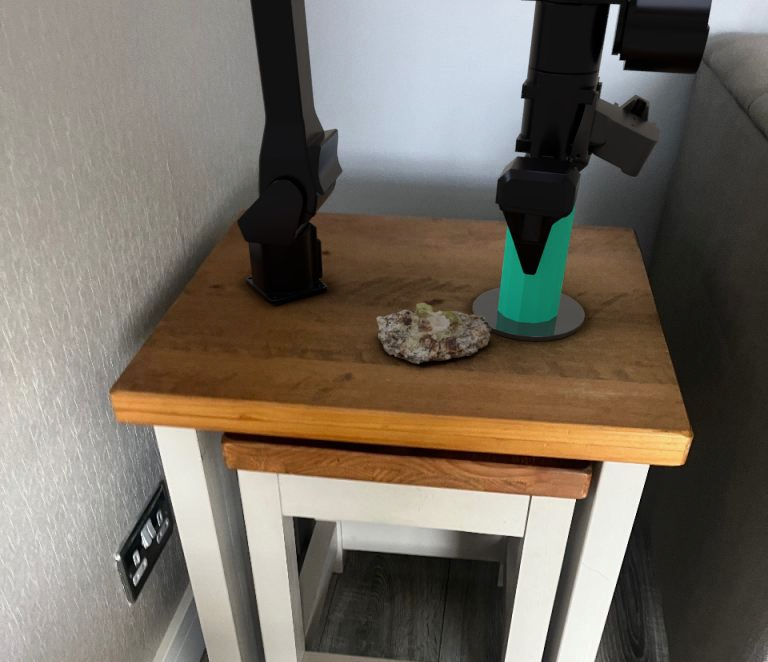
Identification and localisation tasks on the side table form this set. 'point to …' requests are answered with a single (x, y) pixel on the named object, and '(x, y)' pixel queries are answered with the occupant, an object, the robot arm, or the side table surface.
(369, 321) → the side table surface
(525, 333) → the slate coaster
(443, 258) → the side table surface
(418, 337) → the mineral rock
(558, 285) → the candle
